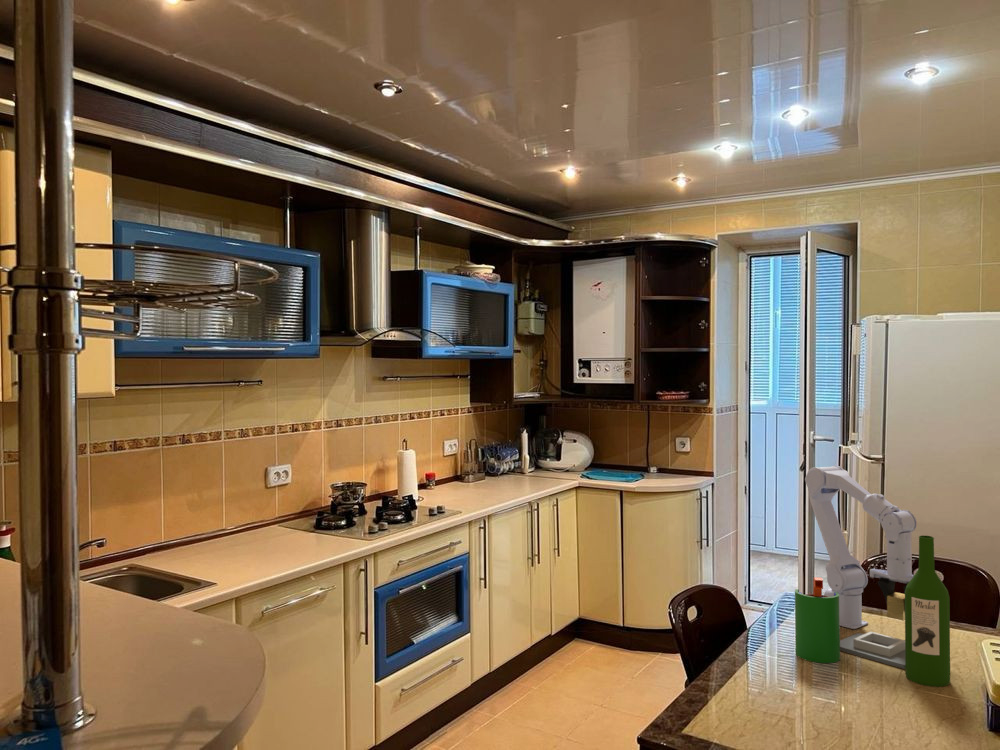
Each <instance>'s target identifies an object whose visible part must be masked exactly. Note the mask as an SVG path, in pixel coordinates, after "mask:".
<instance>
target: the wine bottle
mask: <svg viewBox="0 0 1000 750" xmlns="http://www.w3.org/2000/svg"><path fill="white" fill-rule="evenodd" d="M934 542H935V537H933V536H932V535H931V536H930V535H919V536H918V569H917V571H916V573H914V574H913V575H914V576H913V578H912V579H911V580H910V582H909V583H908V584H906V585H907V586H906V590H905V593H904V594H905V620H904V638H905V639H904V640H905V669H904V670H905V675H906V679H908V680H909V681H911V682H913V683H916V684H918V685H921V684H922V686H926V685H927V686H926V687H933V686H935V688H936V687H937V688H941V686H943V687H946V686H948V684H949V685H950V682H951V619H950V617H951V615H950V613H951V612H950V611H951V610H950V606H951V605H950V603H951V602H950V594H949V590H948V589H947V587H946V586H945V584H944V583H943V581H942V580H941V578H940V576H939V575H938V574H937V572H936V569H935V546H934V545H935V543H934Z"/></svg>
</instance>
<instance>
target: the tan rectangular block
mask: <svg viewBox="0 0 1000 750" xmlns="http://www.w3.org/2000/svg"><path fill="white" fill-rule="evenodd" d="M886 613H887V616H886V617H887V618H890V619H891V618H892V619H895V620H900V621H904V622H905V593H901V592H896V591H894V593H893V594H890V595H888V596H887V603H886Z"/></svg>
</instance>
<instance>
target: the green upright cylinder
mask: <svg viewBox="0 0 1000 750" xmlns="http://www.w3.org/2000/svg"><path fill="white" fill-rule="evenodd" d="M812 583H813V588H812V589H813V592H812V593H806V594H803V593H802V592H800V589H799V588H798V589H797V588H796V589H795V590H794V622H795V624H794V626H795V628H794V630H795V633H794V635H795V637H794V638H795V655H796V656H797V657H798V656H799V657H798V658H800V659H802V658H803V659H802V660H805V661H808V662H814V663H819V664H820V663H821V664H831V663H833V664H834V663H836V662H839V661H841V660H840V659H841V651H840V640H841V637H840V636H841V635H840V633H841V631H840V630H841V629H840V627H841V626H840V623H839V593H837V592H834V596H833V597H828V596H824V594H823V593H822V592H823V589H824V579H823V577H817V576H816V577H815V576H814V577H813V582H812Z"/></svg>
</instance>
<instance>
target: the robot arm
mask: <svg viewBox="0 0 1000 750" xmlns="http://www.w3.org/2000/svg"><path fill="white" fill-rule="evenodd" d="M804 481H805V484H806V486H807V490H808V497H809V501H810V505H811V507H812V510H813V513H814V517H815V518H816V519H815V520H816V523H817V526H818V527H819V530H820V534H821V537H822V540H823V542H824V545H825V547H826V551H827V553H828V556H829V561H828V562H827V564H826V565H825V567H824V568H825V571H826V582H827V584H828V588H826V590H825V591H824V594H823V595H824V596H828V597H833V596H834V592H837V593H839V623H840V627H844V628H846V629H847V628H848V629H850V630H851V629H852V630H857V629H859V628H861V627H863V626H866V625H868V624H869V622H868V621H866V620H862V619H863V618H862V617H863V616H862V613H863V612H862V611H863V610H862V608H863V605H862V604H863V603H862V602H863V601H862V600H863V599H862V595H863V594H862V593H864V589H865V588H866V587H867V585H868V583H869V582H868V581H869V579H868V575H867V571H866V570H864V568H863V567H862V566H861V563H860V561H859V559H857V558H856V557H854V556H853V555H851V553H850V550H849V547H848V545H847V542H846V539H845V536H844V533H843V531H842V528H841V525H840V522H839V519H838V517H837V514H836V511H835V508H834V506H833V502H832V501H833V498H834V496H836V495H837V494H838V492H839V491H840V490H841V491H843V492H844V493H846V494H847V495H848V496H850V497H852V498H853V499H855V500H856V501H858V502H859V503H861V504H862V508H863V511H864V512H865V513H867V514H869V516H871V517H873V518H874V519H875V520H876V521H878V522H879V523H880V525H881V528H882V529H883V531H884V533H885V539H886V569H887V570H886V569H878V568H871V569H869V577H870V578H875V579H876V578H878V579H879V580H877V584H878V587H879V588H880V590H881V592H882V594H883V596H884V600H885V603H886V604H887V596H888V595H890V594H893V593H895V586H896V583H897V582H898V583H901V584H902V583H903V584H906V585H903V586H902V588H903V592H904V593H903V594H905V590H906V586H907V584H908V583H909V582H910V580H911V579H912V578H913V576H914V575H915V574H913V572H912V571H913V568H912V566H913V565H912V562H913V559H912V556H913V555H912V553H913V552H912V543H913V542H912V533H913V532H914V531H915V530H916V528H917V526H918V525H917V519H916V517H915V515H914V514H913V513H912V512H911V511H910V510H907V509H901V508H899V506H897V505H894V504H892V503H891V502H890V501H888V499H886V498H885V497H886V496H885V495H884V494H881V493H880V494H879V493H871V492H869V491H868V490H867V489H866V488H865V487H863V486H862V485H861V484H860V483H859V482H857V481H856V480H855V479H854V478H853V477H851V476H850V475H849V471H847V470H845V469H844V468H842V466H839V465H833V466H821V467H816V466H814V467H811V468H809V469H808V471H807V473H806V475H805V478H804Z"/></svg>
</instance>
